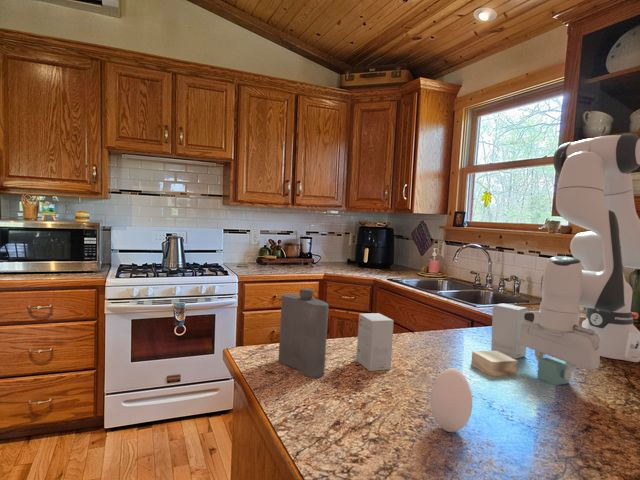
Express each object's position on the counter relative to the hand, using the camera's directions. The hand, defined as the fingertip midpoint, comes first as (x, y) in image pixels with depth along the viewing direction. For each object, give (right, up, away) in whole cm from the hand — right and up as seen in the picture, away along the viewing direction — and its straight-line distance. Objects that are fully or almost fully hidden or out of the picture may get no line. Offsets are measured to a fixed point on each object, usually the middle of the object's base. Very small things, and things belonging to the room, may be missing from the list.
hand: (553, 373), depth 103 cm
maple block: (-13, -1, +5) cm, 14 cm away
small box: (-46, +1, +3) cm, 46 cm away
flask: (-65, +2, -1) cm, 65 cm away
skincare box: (-3, -1, +20) cm, 20 cm away
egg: (-36, -1, -28) cm, 46 cm away
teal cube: (0, -2, 0) cm, 2 cm away
